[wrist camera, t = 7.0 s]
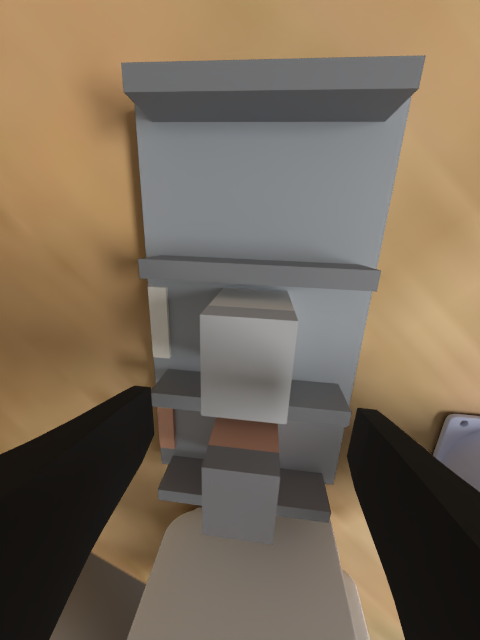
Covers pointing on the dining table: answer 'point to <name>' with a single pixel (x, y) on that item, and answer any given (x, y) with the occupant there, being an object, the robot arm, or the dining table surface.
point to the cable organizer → (249, 586)
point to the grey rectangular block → (247, 355)
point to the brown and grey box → (241, 480)
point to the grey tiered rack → (266, 235)
